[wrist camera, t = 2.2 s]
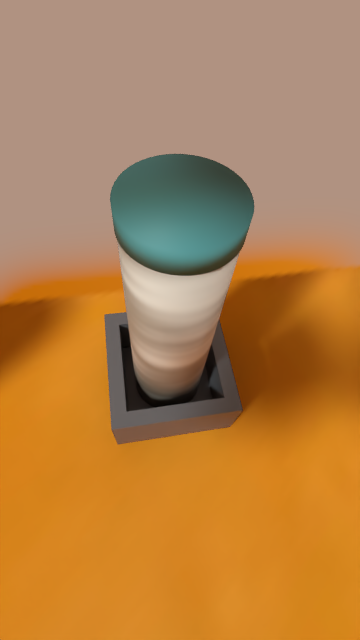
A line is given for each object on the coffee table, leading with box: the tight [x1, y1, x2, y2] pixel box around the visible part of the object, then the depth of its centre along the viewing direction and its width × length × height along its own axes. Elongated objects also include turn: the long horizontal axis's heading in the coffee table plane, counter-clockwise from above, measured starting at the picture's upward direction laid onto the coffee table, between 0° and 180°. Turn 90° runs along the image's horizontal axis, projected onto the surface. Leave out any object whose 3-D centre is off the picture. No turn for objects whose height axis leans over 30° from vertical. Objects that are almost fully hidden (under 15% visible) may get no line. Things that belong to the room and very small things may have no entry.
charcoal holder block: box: [105, 312, 243, 444], centre depth 21 cm, size 7×7×4 cm
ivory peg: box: [110, 154, 254, 408], centre depth 16 cm, size 4×4×14 cm
